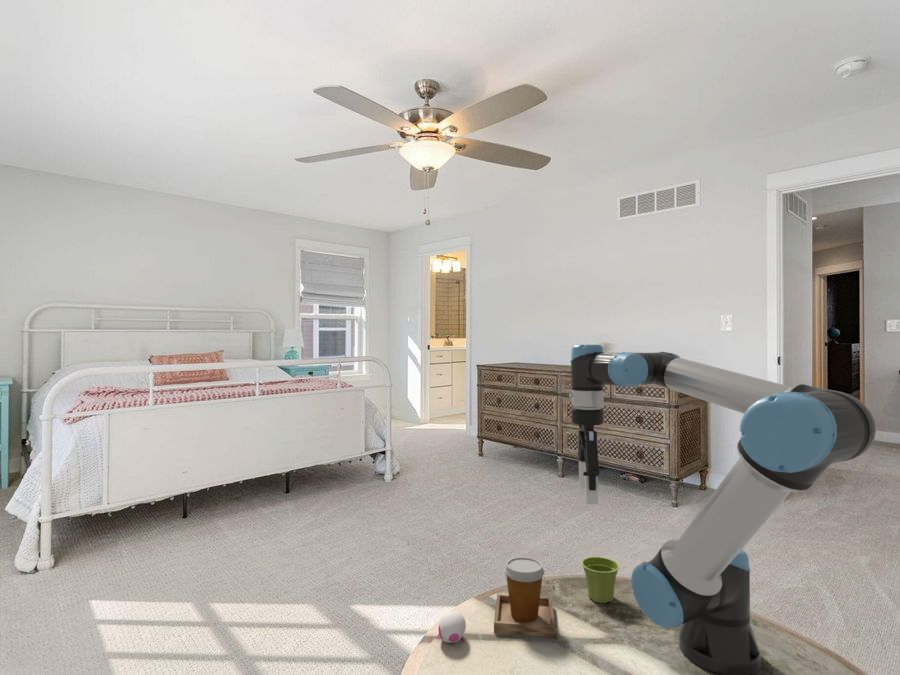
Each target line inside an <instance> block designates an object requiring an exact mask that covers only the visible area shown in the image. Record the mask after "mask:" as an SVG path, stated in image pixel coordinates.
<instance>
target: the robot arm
mask: <svg viewBox="0 0 900 675" xmlns="http://www.w3.org/2000/svg"><path fill="white" fill-rule="evenodd" d="M570 356H571V357H570V370H571V371H570V372H571V373H570V374H571V376H570V378H571V379H570V380H571V384H570V385H571V393H569V394H568V396H569V398H571V406H572V408H571V423H572V424H573V425H578V450H577V457H578V488H579V489H583V488H584V490H585V493H584V494H585V504H586V505H599V476H600V474H601V472H600V466H599V465H600V464H599V453H598V452H599V451H598V432H597V431H596V430H595V427H594V426H601V425H603V424H604V410H603V407H604V406H605V404H604V385H608V386H615V387H617V386H618V387H622V388H637V387H639V386H641V385H642V386H643V385H644V386H645V385H646V386H648V385H649V386H650V385H656V386H659V387H662V388H666V389H668V390H672V391H675V392H678V393H680V394H684V395H687V396H690V397H693V398H696V399H698V400H699V399H700V400H702V401H705V402H708V403H711V404H714V405H717V406H720V407H723V408H725V409H729V410H731V411H735V412H738V413H740V414H743V416H742V418H741V420H740V425H739V432H741V433H740V434H741V437H740V439H739V441H738V442H737V444H736V450H737V453H738V455H739V458H738V459H737V461H736V462H735V463H734V465H733V466H732V468H731V469H730V470H729V472H728V473H727V474H726V475H725V476H724V478H723V479H722V481H721V482H720V484H719V485H718V486H717V487H716V489H715V490H714V491H713V493H712V494H711V496H709V498H708V500H707V501H706V503H705V504H704V505H703V506H702V508H701V509H700V510H699V512H698V513H697V514H696V516H695V517H694V518H693V519H692V521H691V522H690V523H689V525H688V526H687V528H686V529H685V530H684V532H683V533H682V535H681V536H680V537H679V538H678V539H670V540H668V541H666V542H665V543H663V545H662V546H661V548H660V549H659V550H658V551H657V553H656V554H655V556H654V557H653V558H651V560H649V561H644V562H641V563H640V564H638V565H636V566H635V567H634V568H633V570H632V573H631V578H630V579H631V580H630V584H631V588H632V590H633V591H632V592H633V596H634V599H635V600H636V603H637V605H638V607H639V608H640V610H641V612H642V613H643V614H644V616H645V617H646V618H648V620H649V621H650V622H652V623H653V624H654V625H657V626H659V627H661V628H663V629H670V628H675V627H676V628H678V627H680V630H679V633H678V644H679V650H680V652H681V653H682V654H683V656H684V657H686V658H687V659H688V660H689V661H691V662H692V663H693V664H695V665H697V666H699V667H700V668H703V669H704V670H707V671H710V672H713V673H715V674H719V675H750V674H752V675H755V674H756V673H758V672H759V671H760V669H761V666H762V661H761V660H762V658H761V657H762V656H761V650H760V647H759V644H758V641H757V638H756V635H755V633H754V630H753V627H752V625H751V600H750V599H751V594H750V593H751V592H750V590H751V584H750V583H751V582H750V579H751V577H750V574H751V573H750V572H751V568H750V561H749V555H748V554H747V552H746V551H745V550H744V547H745V546H746V545H747V544H748V543H749V542H750V541H751V540H752V538H753V537H754V536H755V534H756V533H757V532H758V531H759V530H760V529H761V528H762V527H763V525H764V524H765V523H766V522H767V521H768V519H770V517H771V516H772V514H773V513H774V512H775V511H776V510H777V509H778V507H779V506H780V505H781V504H782V503H783V502H784V501H785V499H787V497H788V496H789V495H790V494H791V492H792V493H793V492H795V493H797V492H798V493H804V492H807V491H808V490H809V489H810V488H811V487H812V486H813V485H814V483H815V482H817V480H818V479H819V478H820V477H821V476H822V475H823V473H825V471H826V470H827V469H828V468H829V467H830V466H831V465H833V464H837V463H842V462H846V461H851V460H854V459H855V458H859V457H860V456H862V455H863V454H865V453H866V452H867V451H868V450H869V449H870V447H871V446H872V444H873V442H874V440H875V439H876V438H875V437H876V433H877V430H876V427H877V426H876V420H875V419H874V416H873V414H872V413H871V411H870V409H868V407H867V405H865V404H864V403H863V402H862V401H861V400H860V399H858V398H856V397H854V396H852V395H851V394H849V393H845V392H843V391H839V390H835V389H834V390H833V389H825V388H822V387H817V386H816V387H815V386H812V385H808V384H803V383H798V384H795V385H794V386H790V385H785V384H781V383H777V382H774V381H770V380H766V379H762V378H759V377H755V376H751V375H748V374H742V373H739V372H736V371H732V370H727V369H723V368H719V367H716V366H714V365H713V366H712V365H708V364H705V363H700V362H697V361H693V360H689V359H684V358H681V356H680V355H678V354H677V353H673V352H667V351H660V352H659V351H658V352H629V351H628V352H625V351H623V352H604V348H603V345H602V344H575V345H573V346H572V348H571V355H570ZM757 671H758V672H757ZM754 673H755V674H754Z"/></svg>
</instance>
